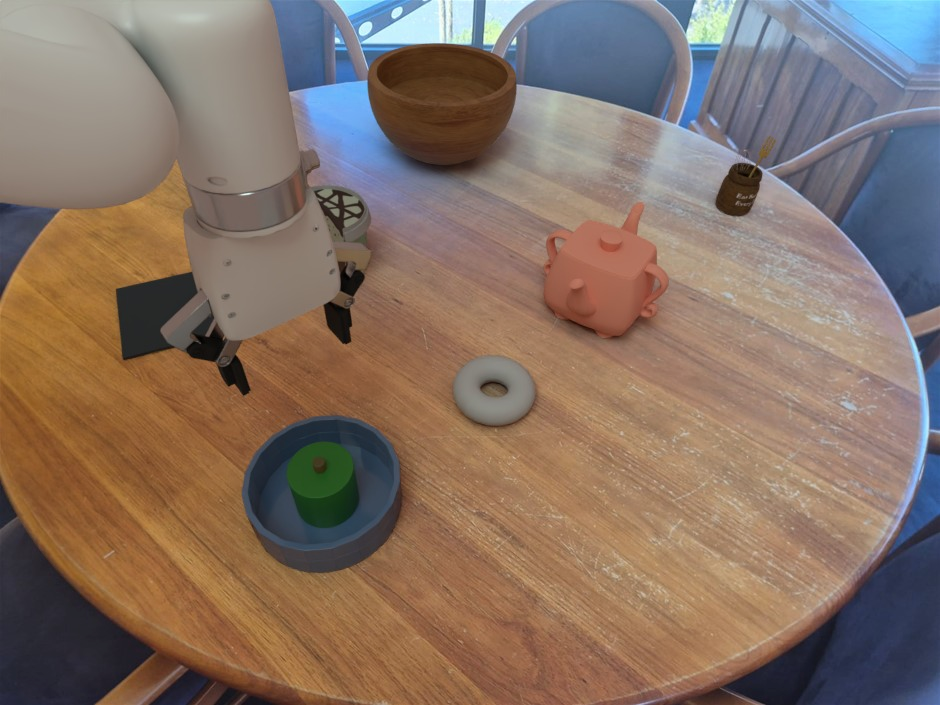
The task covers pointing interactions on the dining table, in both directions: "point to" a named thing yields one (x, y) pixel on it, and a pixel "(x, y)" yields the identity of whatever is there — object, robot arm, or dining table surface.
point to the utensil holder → (741, 185)
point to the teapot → (603, 275)
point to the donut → (494, 408)
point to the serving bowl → (277, 510)
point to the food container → (344, 214)
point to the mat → (153, 312)
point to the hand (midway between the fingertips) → (291, 358)
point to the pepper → (323, 484)
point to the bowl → (441, 100)
